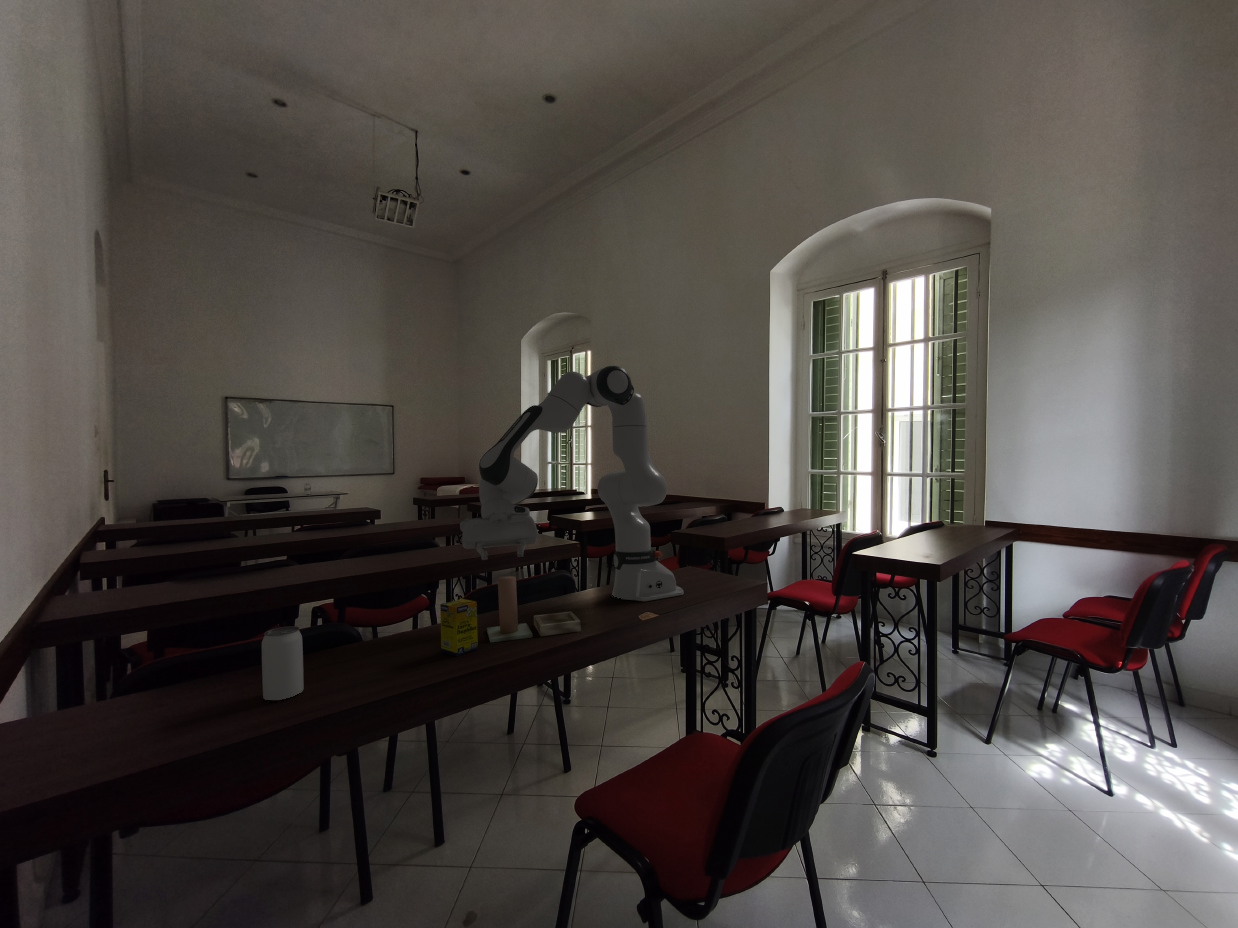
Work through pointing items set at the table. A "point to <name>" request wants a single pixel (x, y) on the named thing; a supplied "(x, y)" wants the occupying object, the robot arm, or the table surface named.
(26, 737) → the table surface
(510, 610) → the terracotta peg
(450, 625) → the supplement box
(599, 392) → the robot arm
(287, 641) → the can
